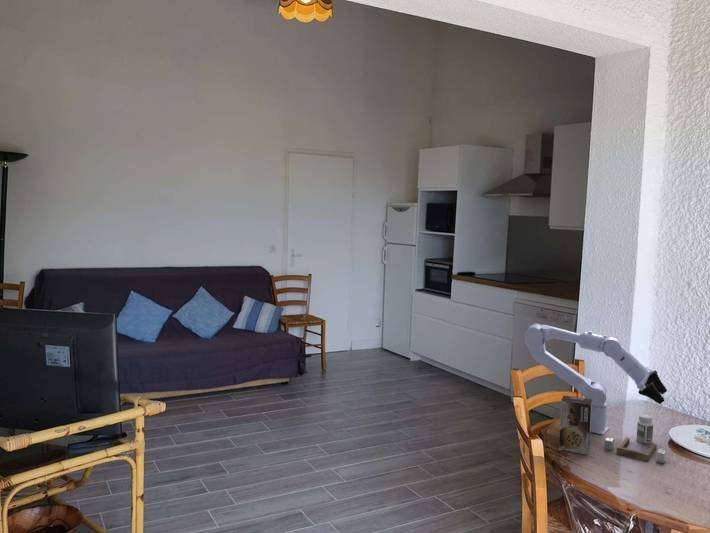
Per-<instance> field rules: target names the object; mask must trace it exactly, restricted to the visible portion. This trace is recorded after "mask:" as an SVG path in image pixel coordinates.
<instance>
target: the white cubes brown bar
mask: <svg viewBox="0 0 710 533" xmlns="http://www.w3.org/2000/svg"><path fill="white" fill-rule="evenodd" d="M630 440H631V438H630V437H625V439H624V440H623V441H622V442H621V444H619V446H617V447H616V455H620V456H624V457H629V458H632V459H637V460H640V461H644V462H649V461H650V459H651V458H652V457H653V455H654V453H655V451H656V450H657V451H656V460H655V462H656V463H660V464H664V463H666V460H667V459H666V458H667V450H665V449H660V448H659V449H657V443H652V445H651V446H650V448H649V449H648V451H647V452H643V451H638V450H633V449H629V448H626V447H627V446H628V445H629V443H630ZM614 442H615V438H612V437H609V436H608V437H606V438H605V439H604V448H603V449H604V450H607V451H612V450H613V449H614V447H615V446H614V444H615V443H614Z"/></svg>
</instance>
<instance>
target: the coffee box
mask: <svg viewBox="0 0 710 533" xmlns="http://www.w3.org/2000/svg"><path fill="white" fill-rule="evenodd" d="M559 416H560V417H559V418H560V419H559V420H560V421H559V435H558V436H559V438H558V439H559V440H558V450H559V449H561V450H560V451H562V450H566V451H565V452H568V451H571V453H575V454H576V453H577V454H580V453H581V454H580V455H587V456H588V455H590V452H591V451H590V450H591V433H592V432H591V416H592V399H586V398H585V397H579V396H570V395H563V396H562V398H561V401H560V415H559Z"/></svg>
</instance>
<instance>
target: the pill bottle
mask: <svg viewBox="0 0 710 533" xmlns="http://www.w3.org/2000/svg"><path fill="white" fill-rule="evenodd" d="M653 419H654V418H653V416H652V415H648V414H639V415H638V421H637V425H636V441H638V442H639V443H643V444H650V443H652V442H653V436H654V423H653Z"/></svg>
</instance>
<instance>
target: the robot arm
mask: <svg viewBox="0 0 710 533" xmlns="http://www.w3.org/2000/svg"><path fill="white" fill-rule="evenodd" d="M554 339H556V340H561V341H566V342H570V343H571V342H572V343H575V344H578V346H579V347H580V348H581V349H585V350H589V351H593V352H598V353H604V356H606V357H609V358H611V359H612V360H613V361H614V362H615V364H616V365H617V366H618V367H619V368H620V369H622V371H624V372H625V373H626V374H627V375H628V377H630V378H631V380H632V381H634V383H635V385H636V388H637V389H638V394H639V395H641V396H644V397H647V398H649V399H651V400H653V401H654V402H655V403H656V404H659V405H661V404H662V403H664V402H665V401H666V399H665V398H664V396H663V395H664V394H666V392H668V390H667V388H666V387H665V385H664V383H663V382H662V380H661V378H660V376H659V375H658V371H657V370H653V369H651V368H649V367H648V366H646V367H645V365H643V364H642V363H641V362H640V361H639V360H638V359H637V358H636V357H635V356H634V355H633V354H632V353H631V352H630V351H629V350H627V349H626V348H625V347H624V346H622V345H621V343H620V341H619V340H618V339H617V338H616V337H614V336H611V335H610V336H609V335H607V334H604V335H601V334H600V335H599V334H595V333H593V331H592V330H588V331H583V332H582V333H577V332H573V331H571V330H570V331H569V330H566V329H563V328H559V327H555V326H551V325H547V324H541V323H532V324H530V325H529V327H528V328H527V329H526V330H525V332H524V343H525V345H526V347H527V349H528V350H529V353H530V355H531V358H532V359H533V360H534V361H536V362H537V363H538V364H540V365H541V366H543V367H544V368H545V369H547V370H549V371H550V372H552V373H553V374H554V375H556V376H557V377H559V379H561V380H563V381H564V382H566V383H567V384H569V385H570V386H572V387H573V388H574V389H576V390H577V391H578V393H579V394H580V395H581V396H583V398H586V399H592V416H591V433H592V434H593V433H594V434H598V435H601V436H604V435H605V434H606V432H608V430H609V429H610V427H609V426H607V411H608V403H606V402H607V389H606V387H605V385H604V384H603V383H602V382H597V381H593V380H592V379H591V378H588V377H586V376H584V375H582V373H581V374H580V373H579V372H578V371H577V370H575V369H573V368H572V367H570V366H569V365H567V363H565V362H563V361H562V360H560V359H558V358H557V357H556V356H554V355H553V354H552V353H550V352H548V350H546V342H548V341H550V340H554Z"/></svg>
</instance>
